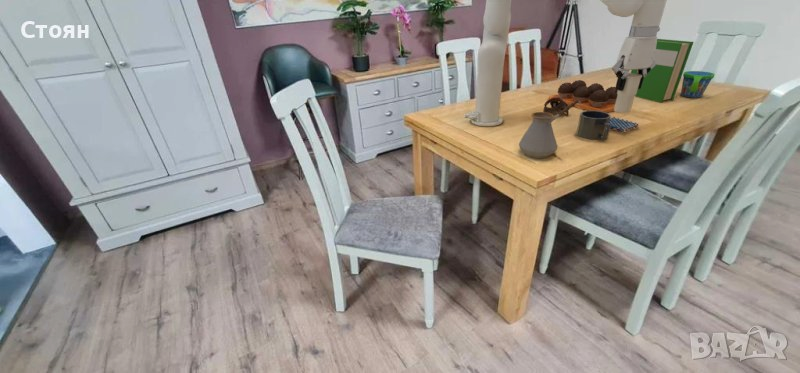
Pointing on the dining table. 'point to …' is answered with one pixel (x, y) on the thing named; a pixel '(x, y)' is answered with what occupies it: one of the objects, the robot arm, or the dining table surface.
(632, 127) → the woven mat
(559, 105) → the broken brown clay pot
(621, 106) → the paper cup
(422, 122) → the dining table surface
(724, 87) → the dining table surface
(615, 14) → the robot arm
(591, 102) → the chocolate cupcake tray
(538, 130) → the coffee pot
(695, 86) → the snack cup
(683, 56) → the hardback book
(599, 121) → the mug
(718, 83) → the dining table surface
